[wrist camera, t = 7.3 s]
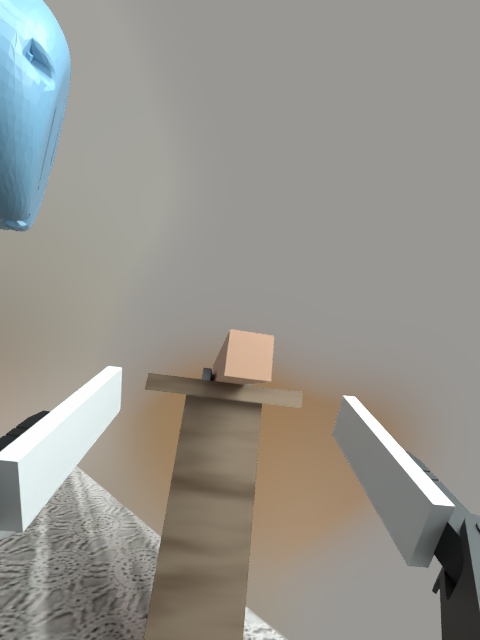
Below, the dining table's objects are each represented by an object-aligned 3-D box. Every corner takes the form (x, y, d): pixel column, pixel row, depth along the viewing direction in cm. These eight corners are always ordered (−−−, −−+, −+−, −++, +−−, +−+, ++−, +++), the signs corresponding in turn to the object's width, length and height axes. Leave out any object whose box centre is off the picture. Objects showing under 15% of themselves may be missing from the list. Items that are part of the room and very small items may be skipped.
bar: (270, 381, 15) (274, 336, 16) (224, 375, 15) (230, 329, 15) (229, 386, 38) (231, 367, 39) (210, 384, 37) (213, 365, 38)
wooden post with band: (294, 903, 14) (307, 379, 24) (20, 905, 13) (147, 359, 23) (258, 665, 27) (276, 383, 36) (114, 658, 26) (171, 370, 35)
